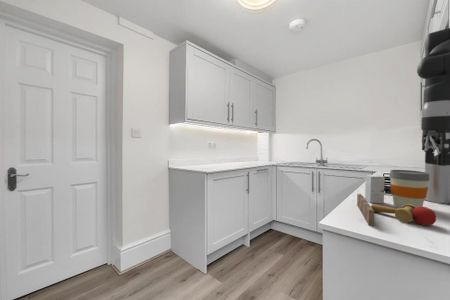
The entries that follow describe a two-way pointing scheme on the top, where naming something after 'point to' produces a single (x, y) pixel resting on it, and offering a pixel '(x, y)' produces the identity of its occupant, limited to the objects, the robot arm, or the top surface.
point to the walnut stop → (365, 209)
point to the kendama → (409, 213)
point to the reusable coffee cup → (408, 187)
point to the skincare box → (374, 189)
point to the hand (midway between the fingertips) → (435, 164)
